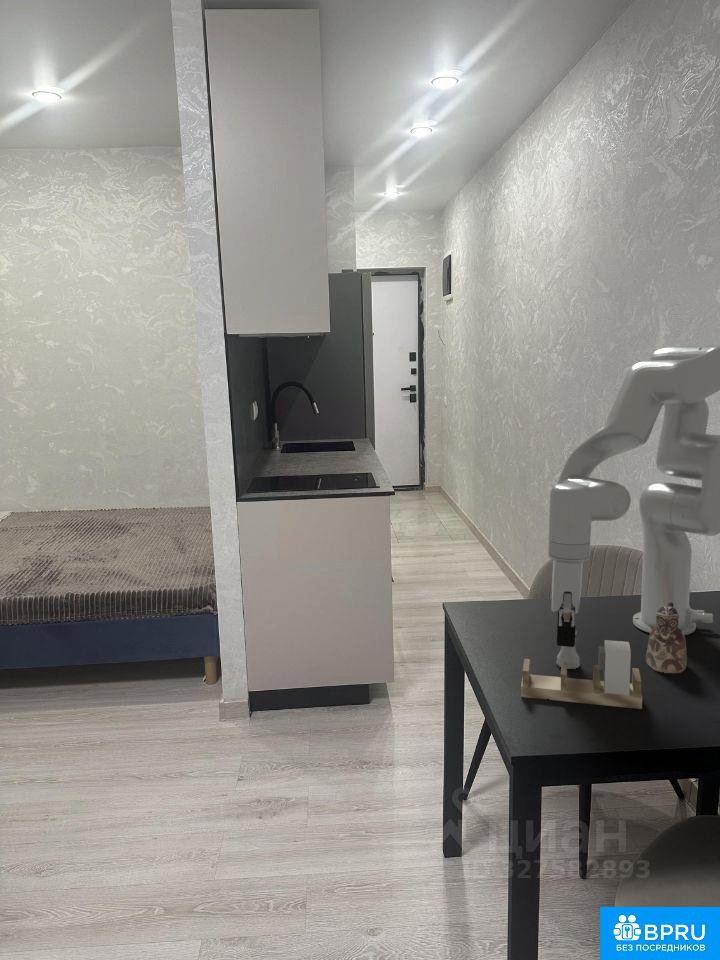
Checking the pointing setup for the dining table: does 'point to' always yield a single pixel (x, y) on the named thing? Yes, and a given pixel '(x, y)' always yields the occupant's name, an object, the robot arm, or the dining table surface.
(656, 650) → the figurine
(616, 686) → the white and grey block
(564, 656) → the rook chess piece
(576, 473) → the robot arm
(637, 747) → the dining table surface
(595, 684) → the wooden slotted rack
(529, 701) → the dining table surface
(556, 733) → the dining table surface
